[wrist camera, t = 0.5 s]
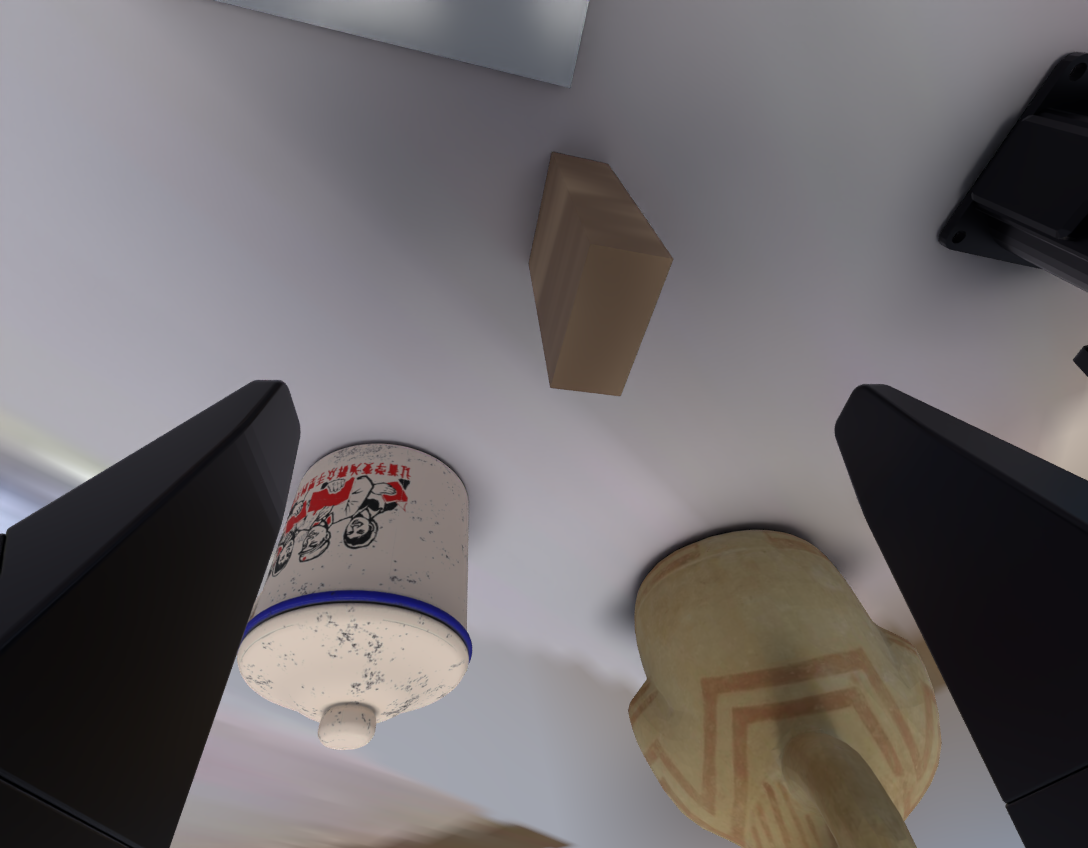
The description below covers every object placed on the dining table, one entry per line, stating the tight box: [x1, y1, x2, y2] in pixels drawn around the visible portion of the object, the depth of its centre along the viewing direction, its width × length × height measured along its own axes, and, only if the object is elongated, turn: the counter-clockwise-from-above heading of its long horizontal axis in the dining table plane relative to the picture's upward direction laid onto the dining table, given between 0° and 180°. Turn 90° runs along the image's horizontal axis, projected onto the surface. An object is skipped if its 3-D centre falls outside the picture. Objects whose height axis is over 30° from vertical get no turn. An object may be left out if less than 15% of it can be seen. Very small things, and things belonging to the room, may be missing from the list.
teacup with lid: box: [237, 444, 472, 750], centre depth 24 cm, size 12×9×12 cm
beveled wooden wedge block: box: [529, 152, 673, 396], centre depth 16 cm, size 2×4×8 cm, turn 168°
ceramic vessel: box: [628, 530, 942, 848], centre depth 27 cm, size 17×20×25 cm
